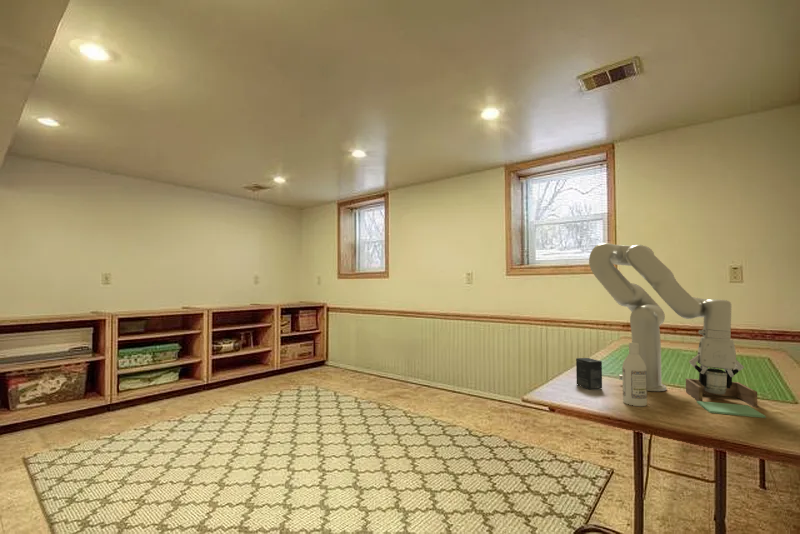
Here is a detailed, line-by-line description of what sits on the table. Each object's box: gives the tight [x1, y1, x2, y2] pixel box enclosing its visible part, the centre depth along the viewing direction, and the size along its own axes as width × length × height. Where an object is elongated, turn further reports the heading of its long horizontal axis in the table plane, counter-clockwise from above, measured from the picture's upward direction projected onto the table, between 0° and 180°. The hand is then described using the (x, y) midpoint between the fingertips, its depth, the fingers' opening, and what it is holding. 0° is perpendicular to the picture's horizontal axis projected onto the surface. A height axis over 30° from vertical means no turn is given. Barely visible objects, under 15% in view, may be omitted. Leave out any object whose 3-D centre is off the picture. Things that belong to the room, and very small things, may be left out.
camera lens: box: [704, 367, 727, 394], centre depth 140 cm, size 6×6×8 cm
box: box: [575, 357, 603, 390], centre depth 155 cm, size 8×6×11 cm
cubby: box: [685, 378, 758, 408], centre depth 139 cm, size 16×13×5 cm
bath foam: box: [621, 342, 648, 407], centre depth 134 cm, size 7×7×20 cm
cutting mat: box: [696, 400, 767, 419], centre depth 128 cm, size 14×11×1 cm
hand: (715, 385), depth 140 cm, fingers closed on camera lens, 6 cm apart
